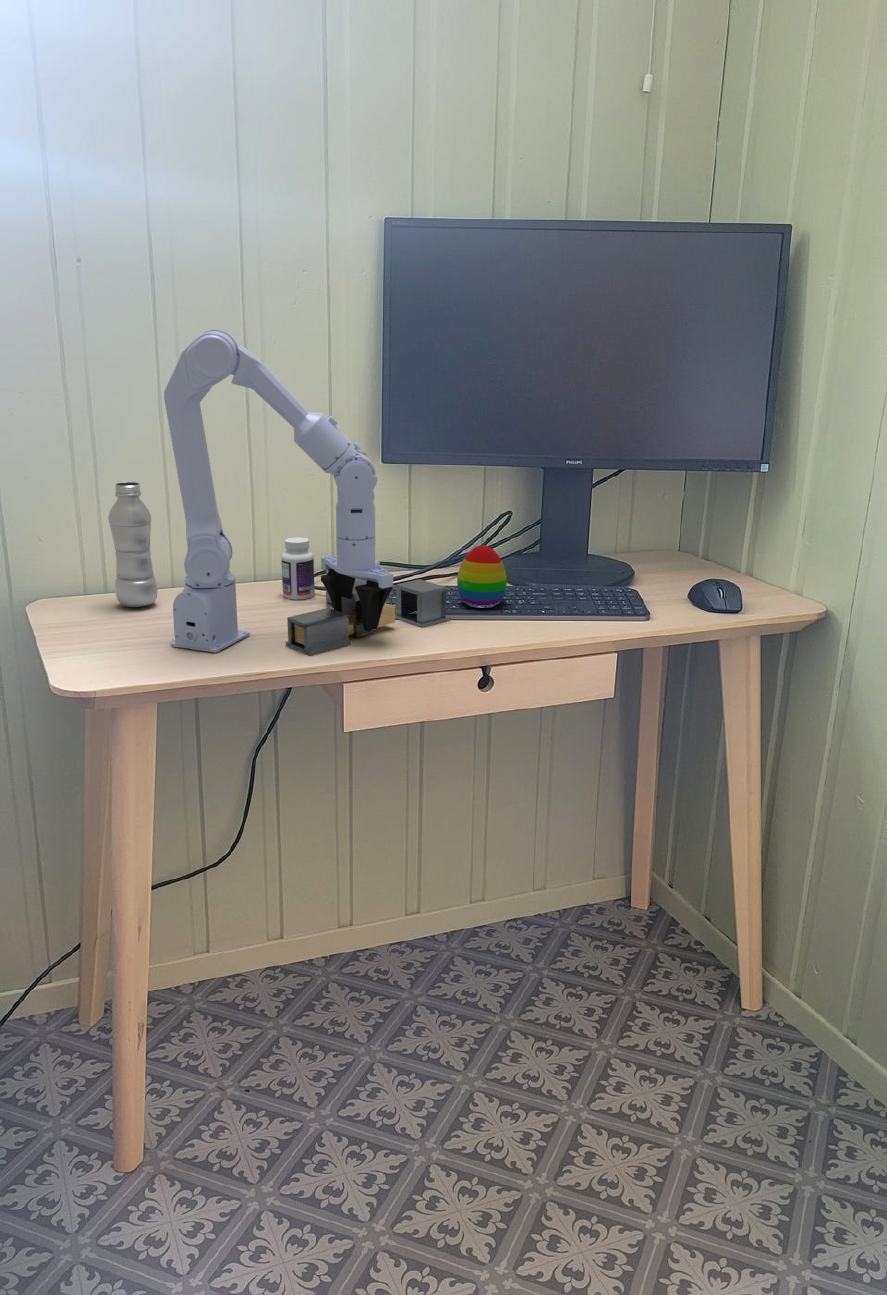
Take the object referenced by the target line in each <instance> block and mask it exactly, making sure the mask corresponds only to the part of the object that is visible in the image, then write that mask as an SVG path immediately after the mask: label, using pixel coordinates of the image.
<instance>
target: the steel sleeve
mask: <svg viewBox="0 0 887 1295" xmlns="http://www.w3.org/2000/svg"><path fill="white" fill-rule="evenodd" d="M286 620H287V641H285V642H284V643H285V647H288V648H290V649H293V650H296V651H298V652H300V653H302V654H305V655H307V656H310V657H311V656H312V657H313V656H314V655H319V654H322V653H326V652H330V651H333V650H338V649H341V648H345V647H349V646H352V640H350V639H349V635H348V614H345V613H342V612H339V611H336V610H334V609H333V608H330V607H326V608H322V609H318V610H313V611H309V612H304V613H301V614H297V615H293V616H292V615H291V616H288V617H287V618H286ZM294 624H297V625H300V626H303V627H304V643H305V645H303V644H300V643H298V642H295V625H294Z"/></svg>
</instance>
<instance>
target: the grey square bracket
mask: <svg viewBox="0 0 887 1295" xmlns="http://www.w3.org/2000/svg"><path fill="white" fill-rule="evenodd" d="M446 607H447V586H444V585H440V584H437V583H434V582H431V581H427V580H423V579H415V580H411V581H406V582H402V583H398V584H395V613H396V614H397V615H395V620H399V621H401V622H404V623H408V624H410V625H413V626H417V627H419V628H426V627H430V626H433V625H436V624H441V623H444V622H448V621H451V616H449V615H446V614H447V613H446V612H447V608H446ZM414 611H417V614H409V613H412V612H414Z"/></svg>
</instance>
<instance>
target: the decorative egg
mask: <svg viewBox="0 0 887 1295" xmlns="http://www.w3.org/2000/svg"><path fill="white" fill-rule="evenodd" d="M457 572H458V573H457V581H456V583H457V584H456V585H457V590H458V595H459V597H460V600H463V601H465V602H468V603H472V604H476V605H489V604H495V603H498V602H500V601H501V602H502V600H503V598H504V596H505V594H506V590H507V573H506V572H507V571H506V568H505V565H504V562H503V561H502V559H501V557H500V555H499V554H498V553H497V552H496V551H495V550H494V549H493V548H491V547H490V546H488V545H483V544H480V545H477V546H475V547H473V548H472V549H471V550H470V551H468V553H467V554H466V555H465V556H464V558H462V561H461V563H460V566H459V568H458V571H457ZM463 601H462V602H463ZM501 602H500V603H501Z"/></svg>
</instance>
